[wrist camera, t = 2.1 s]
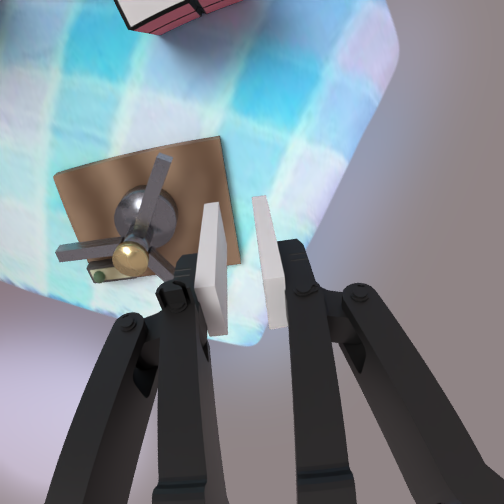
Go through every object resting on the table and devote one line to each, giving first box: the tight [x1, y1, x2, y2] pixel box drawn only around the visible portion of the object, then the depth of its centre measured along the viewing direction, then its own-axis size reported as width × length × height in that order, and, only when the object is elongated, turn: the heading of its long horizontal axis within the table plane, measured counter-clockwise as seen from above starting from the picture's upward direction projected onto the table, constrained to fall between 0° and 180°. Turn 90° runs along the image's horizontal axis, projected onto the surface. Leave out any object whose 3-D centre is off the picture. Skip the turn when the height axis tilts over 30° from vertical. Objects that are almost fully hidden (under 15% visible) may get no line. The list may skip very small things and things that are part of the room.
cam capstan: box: [55, 152, 178, 282], centre depth 32 cm, size 16×18×8 cm
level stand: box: [53, 136, 241, 283], centre depth 36 cm, size 20×16×4 cm
